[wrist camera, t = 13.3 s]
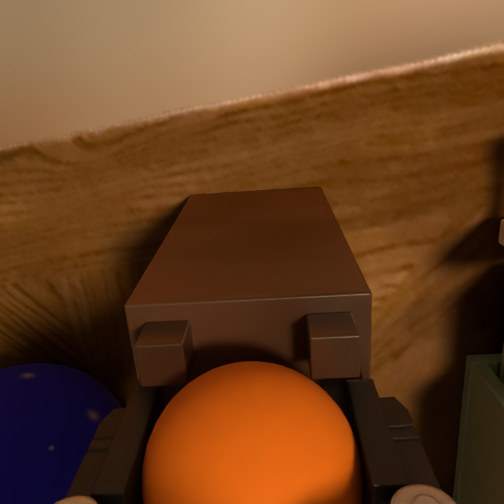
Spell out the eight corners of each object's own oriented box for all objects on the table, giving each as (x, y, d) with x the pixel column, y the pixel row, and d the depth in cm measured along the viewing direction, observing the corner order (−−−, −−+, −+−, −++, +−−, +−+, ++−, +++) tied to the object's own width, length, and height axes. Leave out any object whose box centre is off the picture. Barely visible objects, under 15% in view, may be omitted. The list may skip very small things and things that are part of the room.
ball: (177, 474, 14) (135, 667, 10) (153, 327, 13) (88, 478, 8) (345, 468, 14) (383, 663, 10) (344, 318, 12) (391, 467, 8)
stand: (204, 310, 26) (148, 528, 14) (190, 194, 24) (109, 328, 11) (323, 304, 26) (377, 521, 13) (321, 186, 23) (382, 315, 11)
